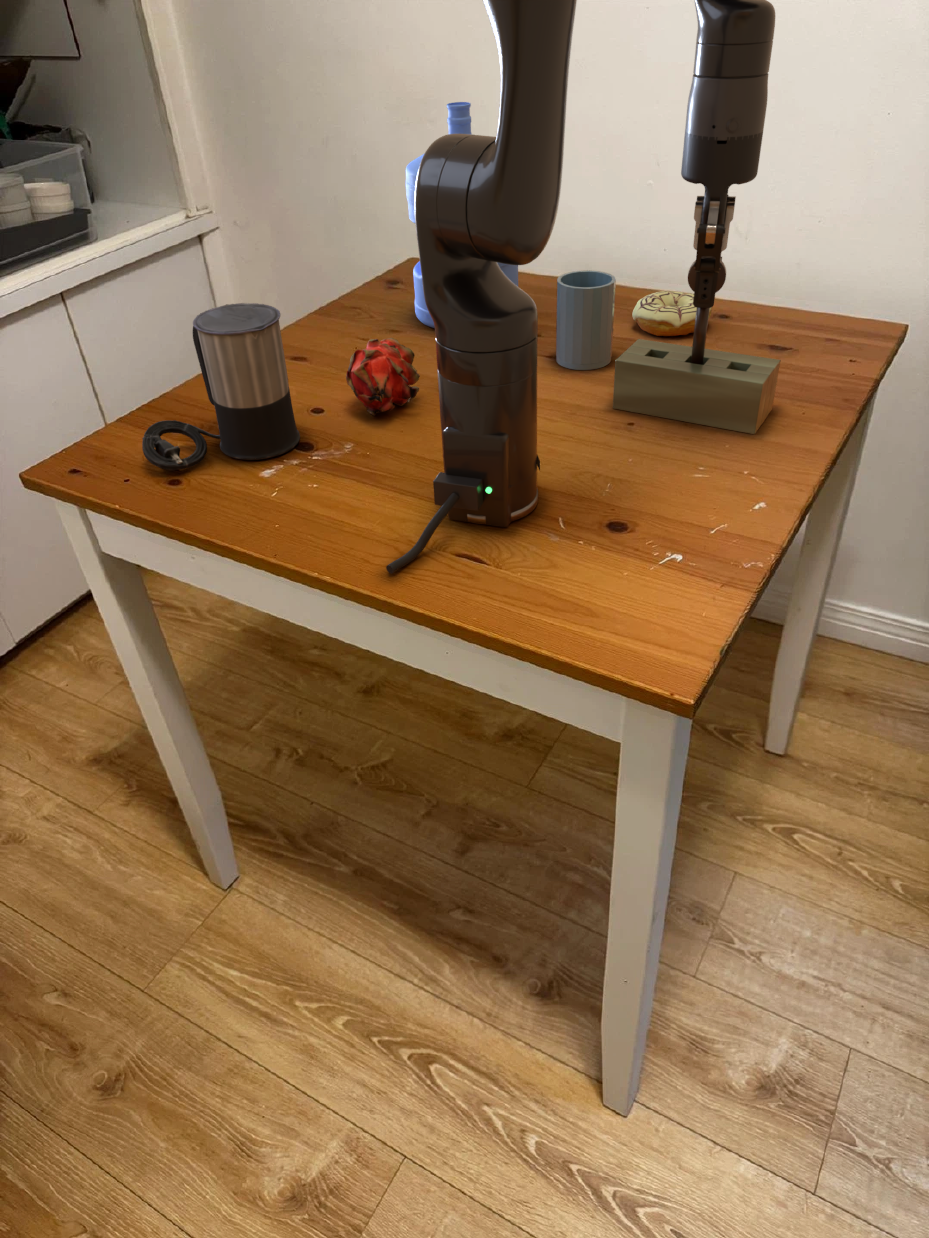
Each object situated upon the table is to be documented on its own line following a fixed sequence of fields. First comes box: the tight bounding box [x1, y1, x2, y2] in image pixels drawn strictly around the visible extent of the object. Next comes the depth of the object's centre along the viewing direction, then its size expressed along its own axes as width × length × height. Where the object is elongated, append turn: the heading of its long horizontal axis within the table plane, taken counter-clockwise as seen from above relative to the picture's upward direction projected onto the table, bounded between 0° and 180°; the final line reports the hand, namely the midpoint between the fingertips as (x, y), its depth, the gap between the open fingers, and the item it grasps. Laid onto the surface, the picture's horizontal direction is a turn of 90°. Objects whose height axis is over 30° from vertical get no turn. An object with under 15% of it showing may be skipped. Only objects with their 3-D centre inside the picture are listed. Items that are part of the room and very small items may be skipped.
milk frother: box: [141, 302, 301, 471], centre depth 100 cm, size 14×16×15 cm
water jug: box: [405, 101, 519, 329], centre depth 129 cm, size 16×16×28 cm
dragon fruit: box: [345, 337, 421, 417], centre depth 111 cm, size 8×8×12 cm
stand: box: [612, 338, 781, 435], centre depth 106 cm, size 7×17×6 cm, turn 60°
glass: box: [555, 269, 617, 371], centre depth 118 cm, size 7×7×10 cm
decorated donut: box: [631, 290, 713, 337], centre depth 129 cm, size 10×11×4 cm
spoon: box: [687, 256, 727, 365], centre depth 101 cm, size 4×1×14 cm, turn 75°
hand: (703, 303), depth 100 cm, fingers closed on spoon, 1 cm apart
